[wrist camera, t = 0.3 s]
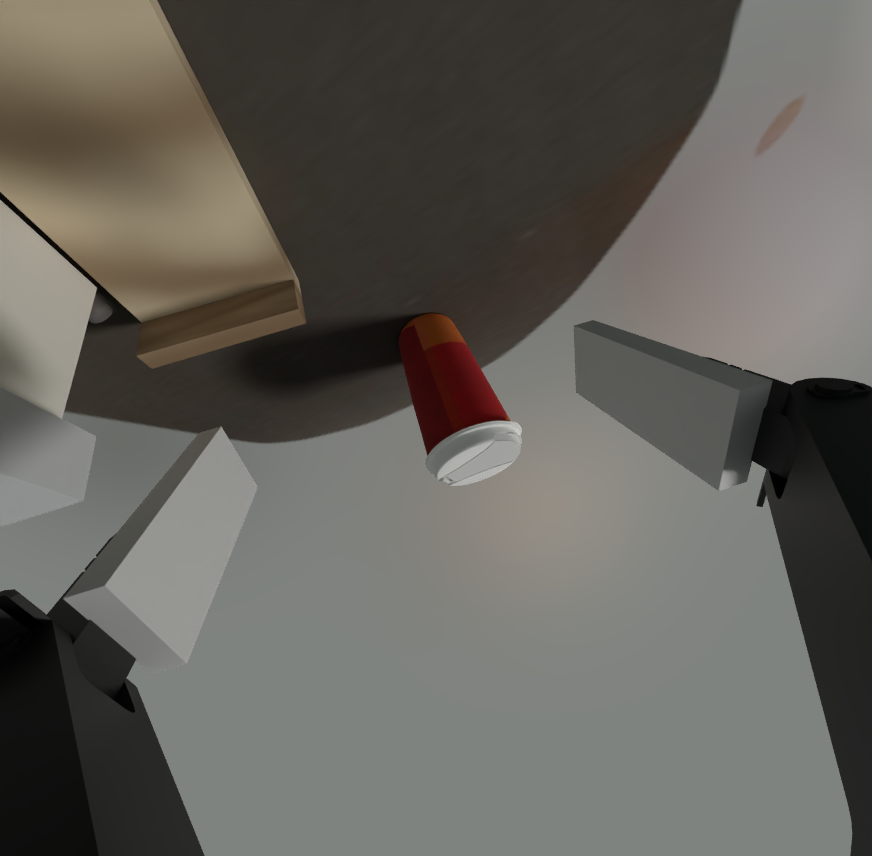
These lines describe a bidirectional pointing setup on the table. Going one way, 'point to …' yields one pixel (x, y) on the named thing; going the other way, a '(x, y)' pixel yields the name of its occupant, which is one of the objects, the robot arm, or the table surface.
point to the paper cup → (455, 404)
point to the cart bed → (137, 176)
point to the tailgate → (39, 374)
